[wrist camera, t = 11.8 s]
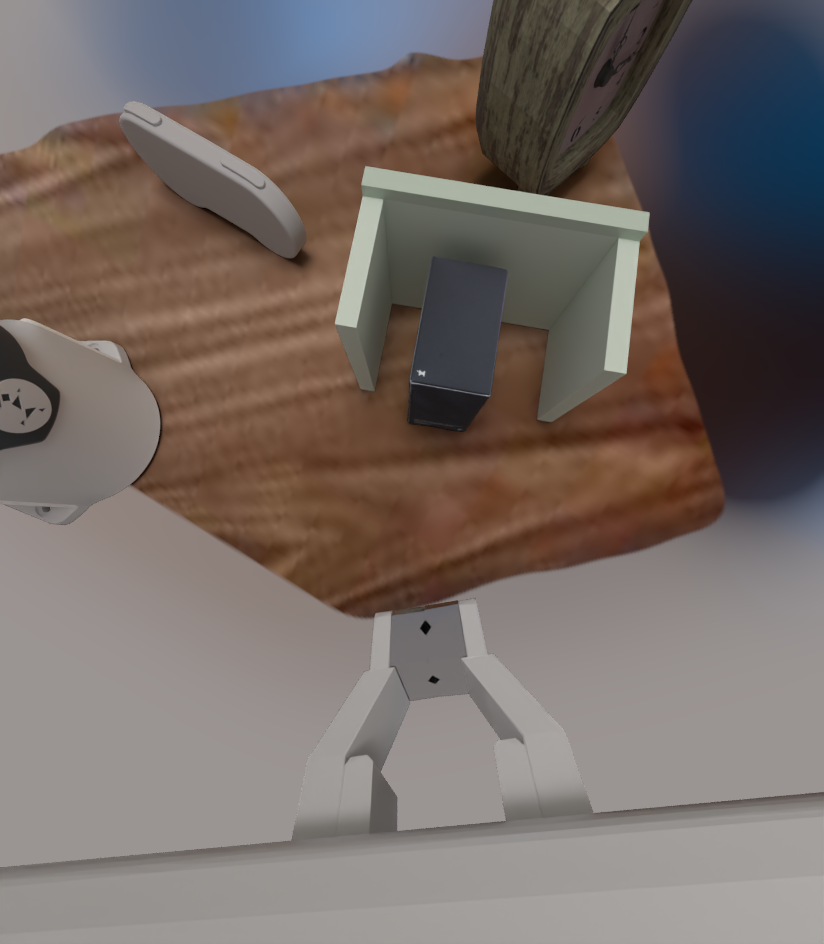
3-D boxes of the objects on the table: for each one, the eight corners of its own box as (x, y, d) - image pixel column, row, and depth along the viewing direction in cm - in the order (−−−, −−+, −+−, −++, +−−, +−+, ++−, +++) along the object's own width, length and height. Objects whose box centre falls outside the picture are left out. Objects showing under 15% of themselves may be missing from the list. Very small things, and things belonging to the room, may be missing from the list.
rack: (360, 389, 35) (332, 317, 22) (381, 288, 36) (365, 166, 23) (551, 422, 34) (634, 368, 22) (564, 319, 36) (649, 212, 23)
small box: (468, 434, 34) (494, 399, 24) (406, 423, 34) (404, 384, 24) (483, 338, 36) (513, 266, 25) (422, 328, 36) (428, 252, 25)
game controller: (317, 256, 37) (290, 181, 28) (305, 272, 36) (275, 201, 28) (174, 172, 38) (109, 77, 30) (162, 187, 38) (93, 96, 29)
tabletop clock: (512, 245, 37) (724, -308, 12) (455, 191, 38) (544, -431, 13) (601, 166, 38) (956, -478, 13) (544, 116, 39) (779, -580, 14)
